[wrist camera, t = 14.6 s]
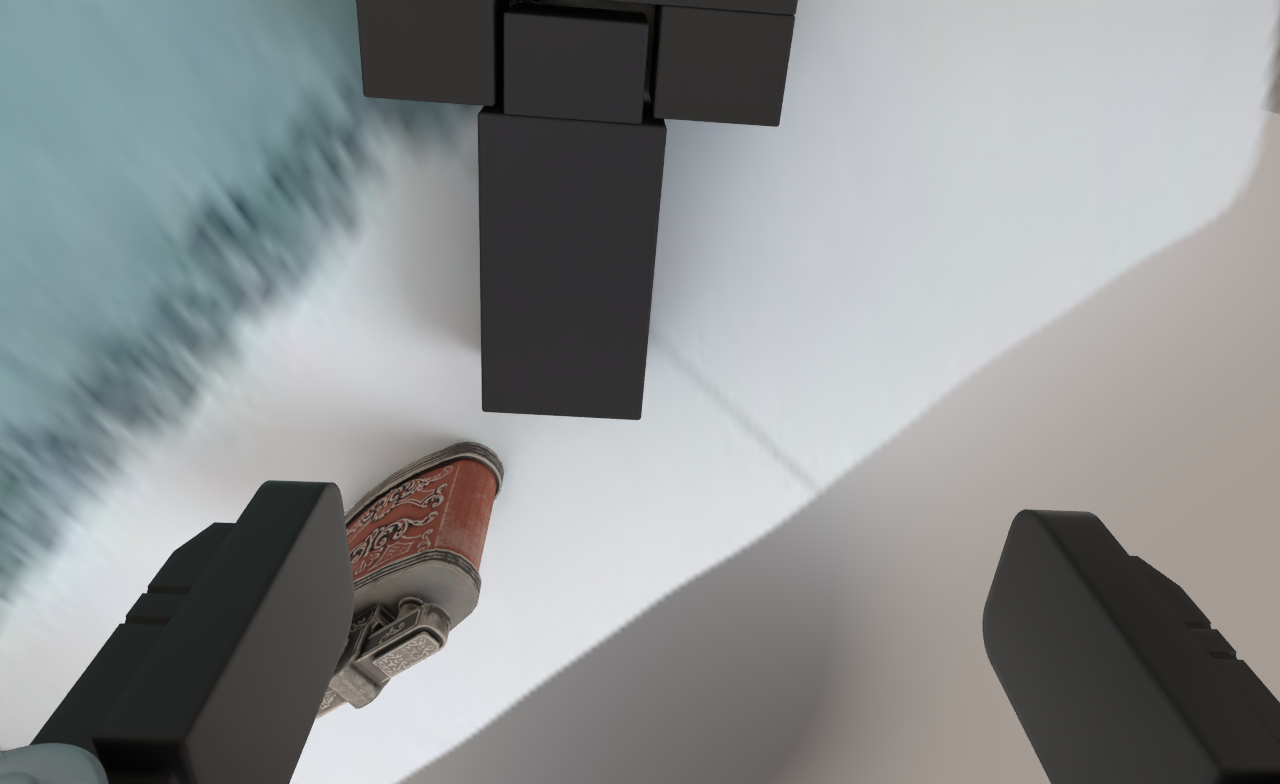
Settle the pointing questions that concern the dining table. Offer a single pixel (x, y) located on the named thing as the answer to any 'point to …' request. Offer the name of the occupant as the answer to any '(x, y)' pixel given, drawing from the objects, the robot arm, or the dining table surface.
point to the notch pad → (685, 3)
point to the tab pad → (568, 215)
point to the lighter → (413, 566)
